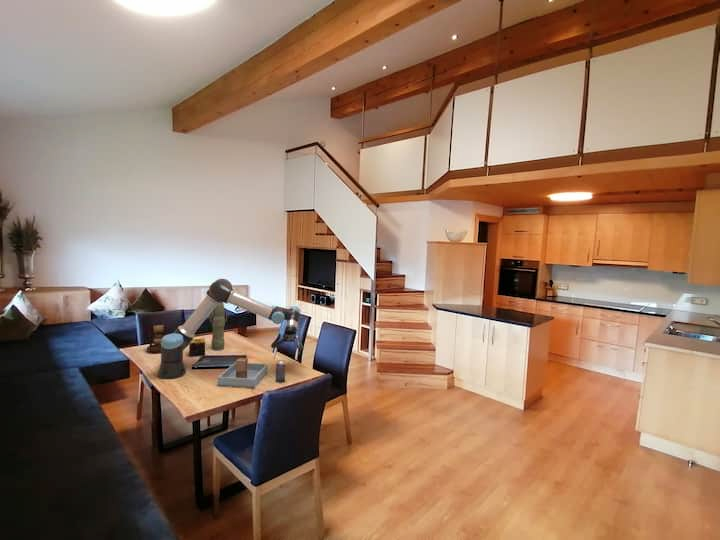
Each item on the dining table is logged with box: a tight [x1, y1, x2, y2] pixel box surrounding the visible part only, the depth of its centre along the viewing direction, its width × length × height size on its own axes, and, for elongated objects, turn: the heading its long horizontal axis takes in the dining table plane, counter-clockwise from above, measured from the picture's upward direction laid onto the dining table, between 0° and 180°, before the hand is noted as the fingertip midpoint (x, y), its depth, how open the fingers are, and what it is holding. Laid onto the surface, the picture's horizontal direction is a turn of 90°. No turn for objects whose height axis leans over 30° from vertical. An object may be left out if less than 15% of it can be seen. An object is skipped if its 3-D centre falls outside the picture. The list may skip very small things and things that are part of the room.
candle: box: [188, 338, 206, 358], centre depth 258 cm, size 10×10×10 cm
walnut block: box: [235, 357, 249, 379], centre depth 215 cm, size 5×5×12 cm
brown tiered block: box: [145, 322, 169, 354], centre depth 261 cm, size 15×15×20 cm
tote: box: [216, 361, 269, 389], centre depth 219 cm, size 26×21×5 cm
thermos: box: [209, 302, 228, 351], centre depth 272 cm, size 9×12×35 cm
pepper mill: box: [275, 359, 287, 384], centre depth 218 cm, size 6×6×12 cm
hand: (284, 358), depth 224 cm, fingers open, 13 cm apart
